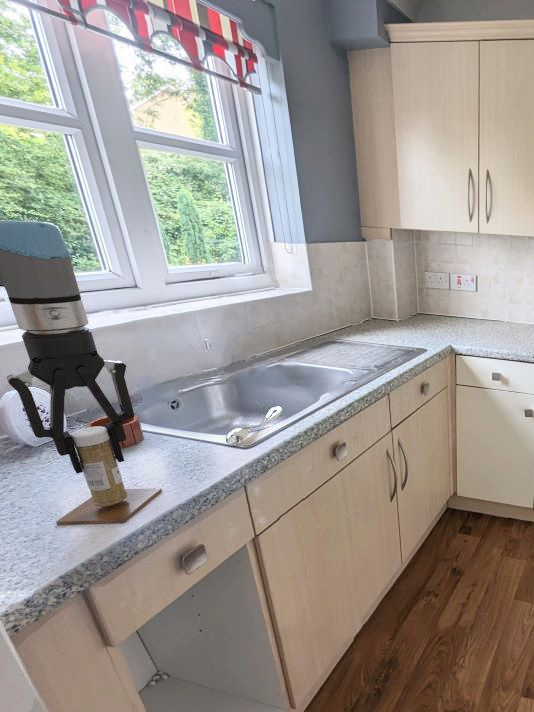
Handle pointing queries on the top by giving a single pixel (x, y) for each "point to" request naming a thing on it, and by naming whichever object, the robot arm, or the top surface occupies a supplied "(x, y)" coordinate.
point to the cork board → (110, 509)
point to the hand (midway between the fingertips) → (99, 464)
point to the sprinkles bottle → (99, 465)
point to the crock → (130, 429)
